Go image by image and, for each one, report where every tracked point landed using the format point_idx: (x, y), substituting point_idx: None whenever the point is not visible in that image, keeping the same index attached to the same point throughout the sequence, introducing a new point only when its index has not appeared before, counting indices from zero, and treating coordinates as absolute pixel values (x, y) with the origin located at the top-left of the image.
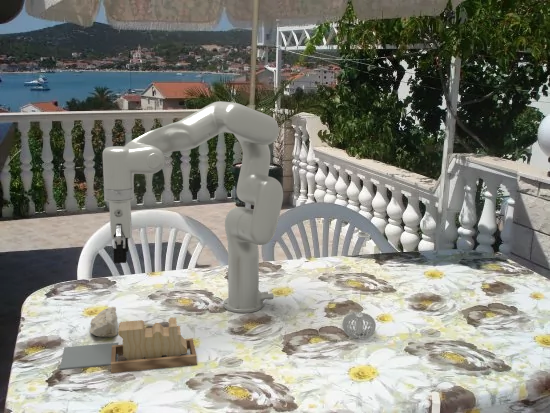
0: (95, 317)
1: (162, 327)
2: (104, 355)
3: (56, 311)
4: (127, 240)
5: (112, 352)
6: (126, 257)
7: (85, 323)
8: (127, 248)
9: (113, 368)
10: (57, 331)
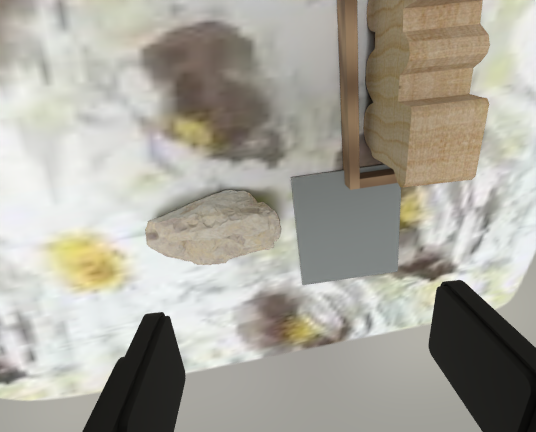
0: (193, 259)
1: (414, 33)
2: (357, 198)
3: (106, 341)
4: (126, 403)
5: (390, 181)
6: (486, 303)
7: (169, 271)
8: (161, 333)
9: None
10: (215, 314)
